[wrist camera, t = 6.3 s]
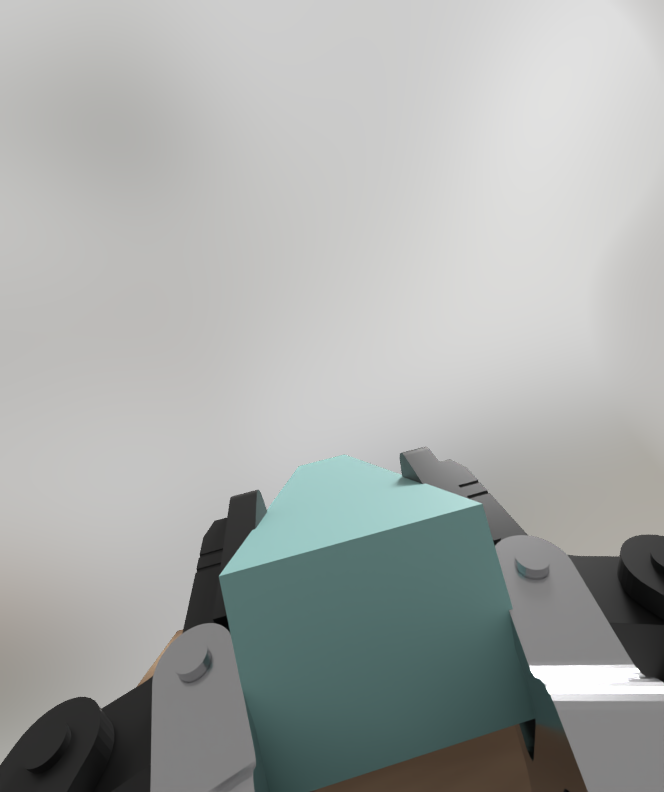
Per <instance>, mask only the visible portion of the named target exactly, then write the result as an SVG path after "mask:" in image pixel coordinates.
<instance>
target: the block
mask: <svg viewBox="0 0 664 792" xmlns="http://www.w3.org/2000/svg"><path fill="white" fill-rule="evenodd" d="M219 580H220V585H221V590H222V595H223V600H224V604H225V609H226V614H227V619H228V624H229V629H230V634H231V639H232V644H233V648H234V653H235V658H236V663H237V668H238V673H239V678H240V683H241V688H242V690H243V693H244V696H245V699H246V702H247V705H248V707H249V710H250V713H251V716H252V719H253V722H254V725H255V728H256V732H257V737H258V742H259V746H260V751H261V756H262V761H263V765H264V770H265V774H266V778H267V782H268V786H269V789H270V792H310V791H314V790H317V789H320V788H323V787H326V786H329V785H332V784H335V783H338V782H341V781H344V780H347V779H350V778H353V777H357V776H360V775H363V774H366V773H369V772H372V771H375V770H378V769H381V768H384V767H387V766H390V765H393V764H396V763H400V762H403V761H406V760H409V759H412V758H415V757H418V756H421V755H424V754H427V753H430V752H433V751H436V750H439V749H443V748H446V747H449V746H452V745H455V744H458V743H461V742H464V741H467V740H470V739H473V738H476V737H479V736H482V735H485V734H489V733H492V732H495V731H498V730H501V729H504V728H507V727H510V726H513V725H516V724H519V723H522V722H525V721H528V720H532V719H535V712H534V707H533V703H532V699H531V695H530V691H529V688H528V685H527V682H526V679H525V676H524V673H523V670H522V667H521V664H520V661H519V658H518V655H517V652H516V650H515V645H514V638H513V632H512V626H511V620H510V614H509V610H510V609H513V607H512V604H511V600H510V597H509V593H508V590H507V587H506V583H505V580H504V576H503V573H502V569H501V566H500V562H499V559H498V556H497V552H496V549H495V545H494V542H493V538H492V535H491V532H490V528H489V525H488V521H487V518H486V514H485V511H484V508H483V504H482V503H479V502H476V501H473V500H471V499H468V498H465V497H462V496H459V495H457V494H454V493H451V492H448V491H445V490H443V489H440V488H437V487H434V486H431V485H429V484H421V483H419V482H416V481H413V480H410V479H408V478H405V477H402V475H400V474H398V473H395V472H392V471H389V470H387V469H384V468H381V467H378V466H375V465H372V464H370V463H367V462H364V461H361V460H358V459H356V458H353V457H350V456H347V455H341V456H337V457H333V458H329V459H325V460H321V461H318V462H314V463H310V464H306V465H302V466H299V467H298V468H297V470H296V471H295V472H294V474H293V475H292V476H291V478H290V479H289V480H288V482H287V483H286V485H285V486H284V487H283V489H282V490H281V491H280V493H279V494H278V496H277V497H276V498H275V500H274V501H273V503H272V504H271V505H270V507H269V508H268V509H267V513H266V515H265V516H264V517H263V519H262V520H261V522H260V523H259V525H258V526H257V527H256V529H254V530H252V531H251V533H250V534H249V535H248V537H247V538H246V539H245V541H244V542H243V544H242V545H241V546H240V548H239V549H238V550H237V552H236V553H235V555H234V556H233V557H232V559H231V560H230V561H229V563H228V564H227V566H226V567H225V568H224V570H223V571H222V572H221V574H220V575H219Z"/></svg>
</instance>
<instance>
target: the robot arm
mask: <svg viewBox="0 0 664 792" xmlns="http://www.w3.org/2000/svg"><path fill="white" fill-rule="evenodd" d="M400 464H401V471H402V477H405V478H408V479H410V480H413V481H416V482H419V483H421V484H429V485H431V486H434V487H437V488H440V489H443V490H445V491H448V492H451V493H454V494H457V495H459V496H462V497H465V498H468V499H471V500H473V501H476V502H479V503H482V504H483V508H484V511H485V514H486V518H487V521H488V525H489V528H490V532H491V535H492V538H493V542H494V545H495V549H496V552H497V556H498V559H499V562H500V566H501V569H502V573H503V576H504V580H505V583H506V587H507V590H508V593H509V597H510V600H511V604H512V607H513V609H510V610H509V614H510V620H511V626H512V632H513V638H514V645H515V650H516V652H517V655H518V658H519V661H520V664H521V667H522V670H523V673H524V676H525V679H526V682H527V685H528V688H529V691H530V695H531V699H532V703H533V707H534V712H535V719H532V720H528V721H525V722H522V723H519V724H516V725H515V728H516V731H517V735H518V738H519V741H520V745H521V748H522V752H523V755H524V759H525V762H526V766H527V770H528V775H529V780H530V785H531V791H532V792H664V536H659V535H639V536H635V537H632V538H629V539H628V540H626V541H625V542H624V543H623V545H622V547H621V551H620V557H608V556H572V555H567V554H566V553H565V552H564V551H562V550H561V549H560V548H559V547H557V546H556V545H554V544H552V543H551V542H549V541H546V540H544V539H541V538H538V537H534V536H528V535H527V534H526V533H525V532H524V530H523V529H522V528H521V527H520V526H519V525H518V524H517V523H516V522H515V521H514V519H512V517H511V516H510V515H509V514H508V513H507V512H506V510H505V509H504V508H503V507H502V506H501V505H500V504H499V503H498V502H497V501H496V499H495V498H494V497H493V496H492V495H491V494H490V493H488V492H487V489H486V488H485V487H483V485H482V484H481V483H479V482H478V480H477V478H475V476H474V475H473V474H472V473H471V472H470V471H469V470H468V469H467V468H466V467H464V466H462V465H460V464H458V463H457V462H455V461H452V460H445V461H441V462H439V461H438V459H437V458H436V457H435V456H434V454H433V453H432V452H431V451H430V449H429V448H428V447H422V448H418V449H415V450H411V451H407V452H403V453H401V454H400ZM266 513H267V510H266V507H265V504H264V501H263V498H262V495H261V493H260V491H259V490H255V491H251V492H248V493H244V494H240V495H236V496H233V497H231V498H230V504H229V511H228V518H224V519H220V520H216V521H214V523H213V524H212V526H211V527H210V528H209V530H208V532H207V533H206V534H205V536H204V538H203V542H202V547H201V551H200V558H199V560H198V565H197V573H196V574H195V579H194V583H193V588H192V593H191V597H190V601H189V606H188V611H187V615H186V620H185V625H184V629H183V633H182V634H181V635H180V636H179V637H177V638H176V639H175V640H174V641H173V642H172V643H171V644H170V645H169V647H168V648H167V649H166V650H165V652H164V653H163V655H162V656H161V658H160V660H159V661H158V664H157V666H156V668H155V671H154V675H153V676H152V677H151V678H149V679H148V680H147V681H145V682H144V683H142V684H141V685H139V686H138V687H136V688H134V689H133V690H131V691H130V692H128V693H126V694H125V695H123V696H121V697H120V698H118V699H117V700H115V701H113V702H112V703H110V704H109V705H107V706H105V707H104V708H102V709H101V708H100V707H99V706H98V704H97V703H96V702H95V701H94V700H92V699H91V698H87V697H78V698H73V699H70V700H67V701H65V702H63V703H61V704H59V705H57V706H55V707H54V708H52V709H51V710H49V711H48V712H47V713H46V714H44V715H43V716H42V717H40V718H39V719H38V720H37V721H36V722H35V723H34V724H33V725H32V726H31V727H30V728H29V729H28V730H27V731H26V732H25V734H23V736H22V737H21V738H20V739H19V741H18V742H17V743H16V744H15V746H14V747H13V749H12V750H11V751H10V753H9V754H8V756H7V757H6V758H5V759H4V761H3V762H2V764H1V765H0V792H270V789H269V786H268V782H267V778H266V774H265V770H264V765H263V761H262V756H261V751H260V746H259V742H258V737H257V732H256V728H255V725H254V722H253V719H252V716H251V713H250V710H249V707H248V705H247V702H246V699H245V696H244V693H243V690H242V688H241V683H240V678H239V673H238V668H237V663H236V658H235V653H234V648H233V644H232V639H231V634H230V629H229V624H228V619H227V614H226V609H225V604H224V600H223V595H222V590H221V585H220V580H219V575H220V574H221V572H222V571H223V570H224V568H225V567H226V566H227V564H228V563H229V561H230V560H231V559H232V557H233V556H234V555H235V553H236V552H237V550H238V549H239V548H240V546H241V545H242V544H243V542H244V541H245V539H246V538H247V537H248V535H249V534H250V533H251V531H252V530H254V529H256V527H257V526H258V525H259V523H260V522H261V520H262V519H263V517H264V516H265V515H266Z"/></svg>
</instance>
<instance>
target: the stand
mask: <svg viewBox="0 0 664 792" xmlns="http://www.w3.org/2000/svg"><path fill="white" fill-rule="evenodd" d="M182 633H183V630H179V631H177V632H176V634H175V635H174V637H173V638H172V639H171V641H170V642H169V643H168V645H167V646H166V647H165V649H164V650H163V652H162V653H161V654H160V656H159V657H158V658H157V660H156V661H155V662H154V664H153V665H152V666H151V668H150V669H149V671H148V672H147V673H146V675H145V676H144V677H143V679H142V680H141V682H140V683H139V684H138V686H139V685H141V684H142V683H144V682H145V681H147V680H148V679H149V678H151V677H152V676H153V675H154V671H155V668H156V666H157V664H158V661H159V660H160V658H161V656H162V655H163V653H164V652H165V650H166V649H167V648H168V647H169V645H170V644H171V643H172V642H173V641H174V640H175V639H176V638H177V637H179V636H180V635H181V634H182ZM138 686H137V687H138ZM310 792H532V791H531V785H530V780H529V775H528V770H527V766H526V762H525V759H524V755H523V752H522V748H521V745H520V741H519V738H518V735H517V731H516V728H515V725H513V726H510V727H507V728H504V729H501V730H498V731H495V732H492V733H489V734H485V735H482V736H479V737H476V738H473V739H470V740H467V741H464V742H461V743H458V744H455V745H452V746H449V747H446V748H443V749H439V750H436V751H433V752H430V753H427V754H424V755H421V756H418V757H415V758H412V759H409V760H406V761H403V762H400V763H396V764H393V765H390V766H387V767H384V768H381V769H378V770H375V771H372V772H369V773H366V774H363V775H360V776H357V777H353V778H350V779H347V780H344V781H341V782H338V783H335V784H332V785H329V786H326V787H323V788H320V789H317V790H314V791H310Z"/></svg>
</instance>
